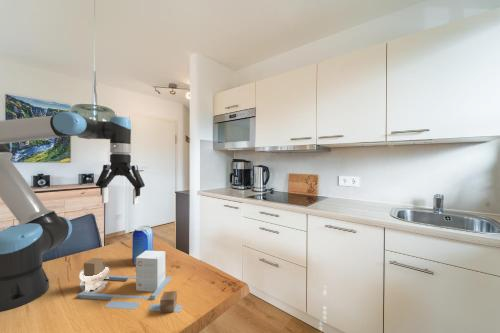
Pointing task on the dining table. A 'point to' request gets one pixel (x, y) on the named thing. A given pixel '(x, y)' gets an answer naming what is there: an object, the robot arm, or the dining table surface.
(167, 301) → the walnut cube
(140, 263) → the small box
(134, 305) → the broken strip
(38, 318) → the dining table surface
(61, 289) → the dining table surface
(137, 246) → the beer can
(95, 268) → the frame
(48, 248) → the robot arm
